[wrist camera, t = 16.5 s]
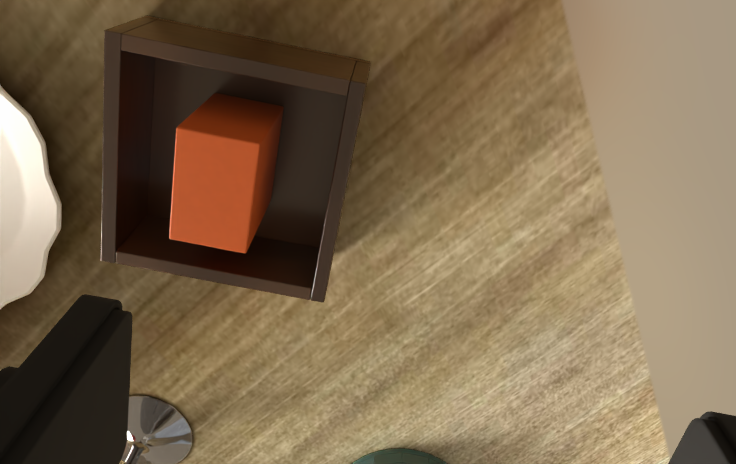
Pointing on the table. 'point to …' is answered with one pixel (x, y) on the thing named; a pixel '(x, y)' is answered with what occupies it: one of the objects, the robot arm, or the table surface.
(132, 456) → the wine glass
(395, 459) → the dish
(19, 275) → the plate
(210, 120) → the block
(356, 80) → the holder
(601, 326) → the table surface
